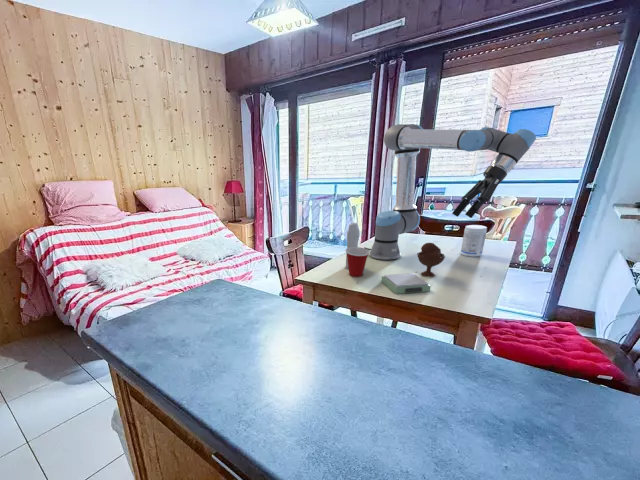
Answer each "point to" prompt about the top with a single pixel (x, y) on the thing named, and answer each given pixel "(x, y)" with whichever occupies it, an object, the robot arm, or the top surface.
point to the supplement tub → (473, 240)
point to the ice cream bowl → (430, 257)
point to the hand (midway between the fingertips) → (461, 215)
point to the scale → (405, 283)
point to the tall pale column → (352, 237)
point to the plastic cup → (356, 260)
